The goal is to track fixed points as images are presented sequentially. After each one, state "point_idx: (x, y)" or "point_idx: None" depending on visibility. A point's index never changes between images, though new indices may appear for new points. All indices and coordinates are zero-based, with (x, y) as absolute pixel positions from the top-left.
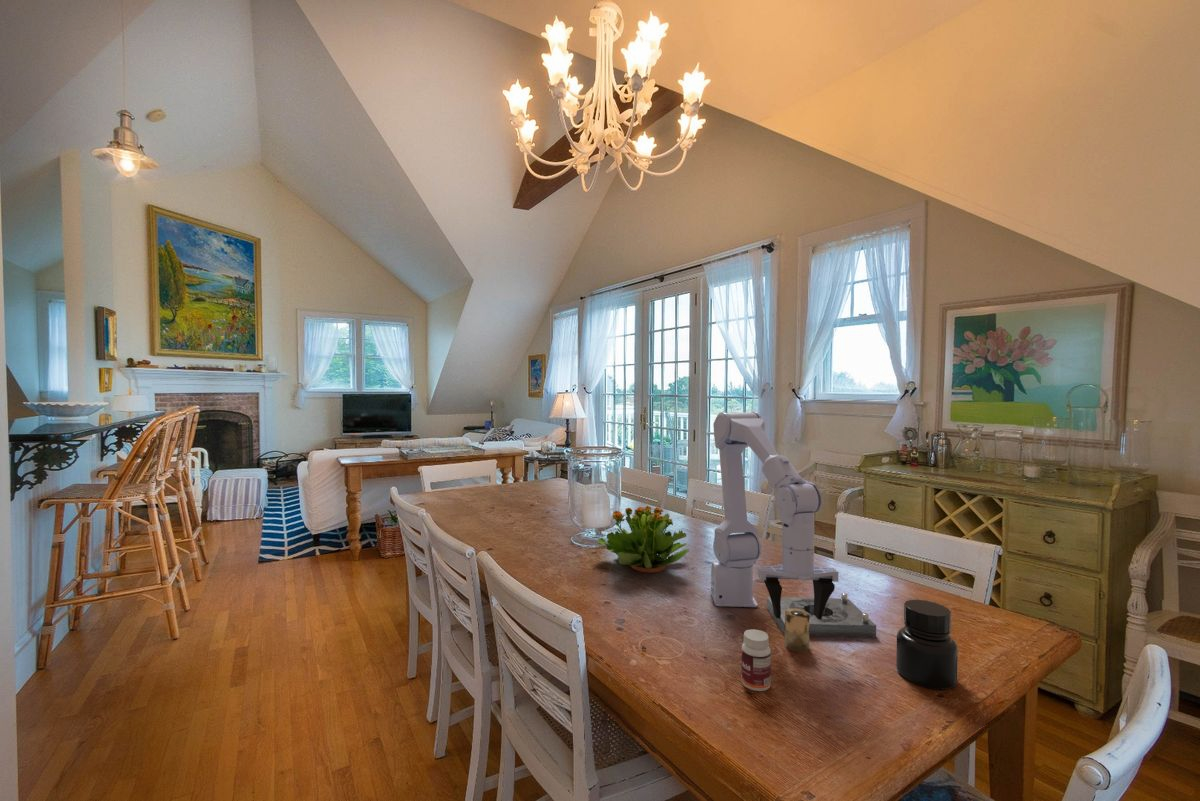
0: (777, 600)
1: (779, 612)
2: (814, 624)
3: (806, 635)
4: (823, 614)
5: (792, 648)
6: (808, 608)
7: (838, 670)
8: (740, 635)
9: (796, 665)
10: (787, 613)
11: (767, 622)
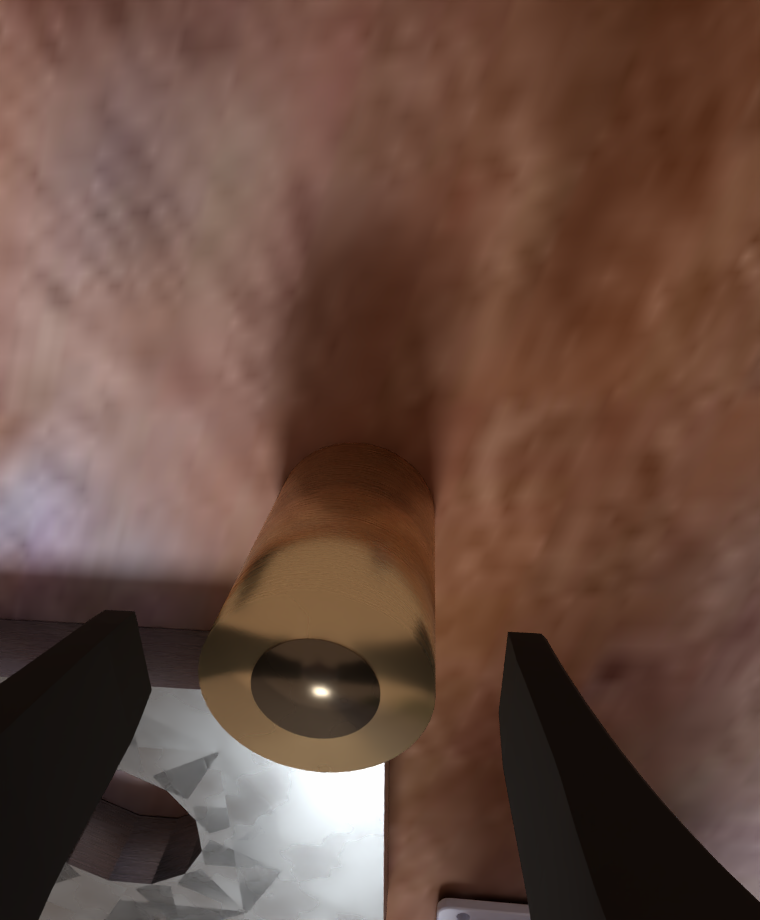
0: (618, 802)
1: (538, 671)
2: (178, 686)
3: (287, 508)
4: (98, 815)
5: (404, 469)
6: (167, 858)
7: (154, 206)
8: (685, 642)
9: (447, 265)
10: (417, 689)
11: (442, 767)
